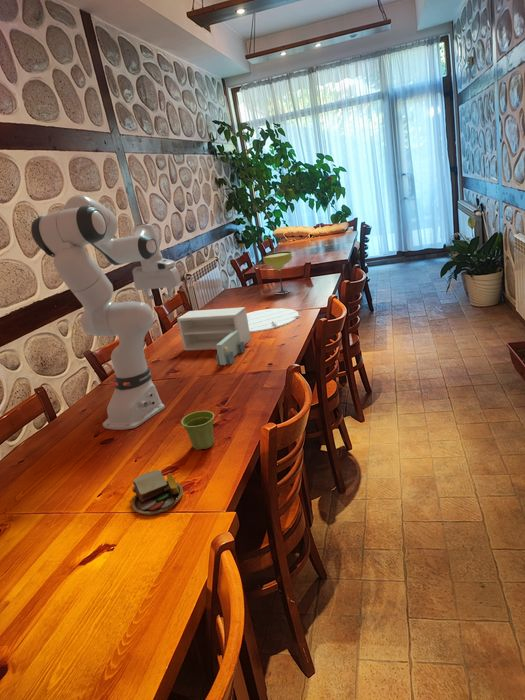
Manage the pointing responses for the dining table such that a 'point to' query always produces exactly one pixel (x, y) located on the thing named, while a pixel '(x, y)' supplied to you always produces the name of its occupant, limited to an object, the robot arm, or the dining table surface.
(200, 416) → the plant pot
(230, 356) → the hinge clips
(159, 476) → the toy sandwich meal
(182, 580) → the dining table surface
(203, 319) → the cabinet
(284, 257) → the cocktail glass
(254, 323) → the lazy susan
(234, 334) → the pale blue panel
